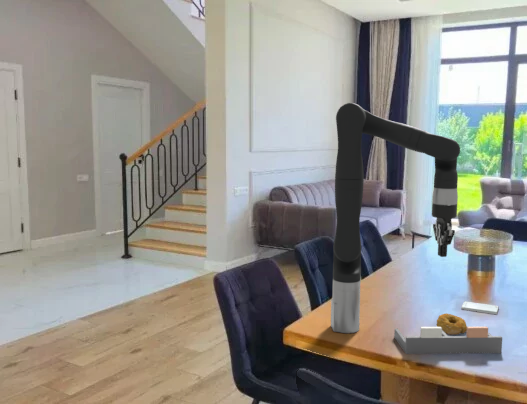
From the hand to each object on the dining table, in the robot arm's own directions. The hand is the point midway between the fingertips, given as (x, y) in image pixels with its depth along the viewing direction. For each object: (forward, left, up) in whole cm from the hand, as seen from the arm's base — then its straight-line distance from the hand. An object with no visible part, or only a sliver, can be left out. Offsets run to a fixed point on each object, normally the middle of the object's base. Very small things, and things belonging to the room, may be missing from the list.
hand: (442, 256), depth 167 cm
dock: (0, -7, -27) cm, 28 cm away
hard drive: (+26, +28, -28) cm, 47 cm away
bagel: (+7, +6, -27) cm, 29 cm away
